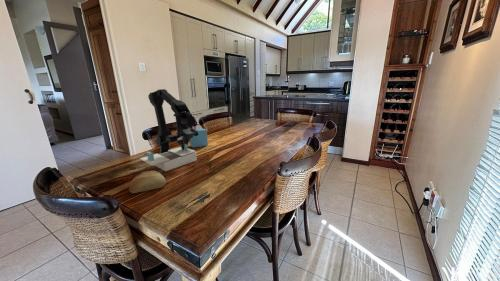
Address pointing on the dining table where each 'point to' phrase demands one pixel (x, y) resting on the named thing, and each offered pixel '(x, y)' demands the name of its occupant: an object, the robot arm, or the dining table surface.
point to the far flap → (182, 152)
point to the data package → (199, 139)
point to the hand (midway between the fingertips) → (184, 149)
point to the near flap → (154, 158)
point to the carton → (175, 160)
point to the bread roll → (147, 181)
